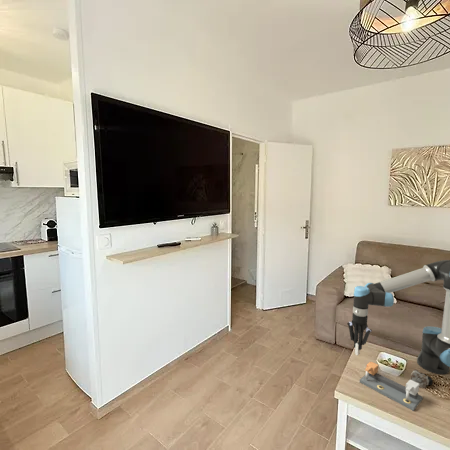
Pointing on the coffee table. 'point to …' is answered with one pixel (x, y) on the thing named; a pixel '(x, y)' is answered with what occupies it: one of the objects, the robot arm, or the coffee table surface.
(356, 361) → the coffee table surface
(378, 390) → the plate
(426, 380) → the grey rock
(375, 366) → the sliding leg
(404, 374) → the coffee table surface
